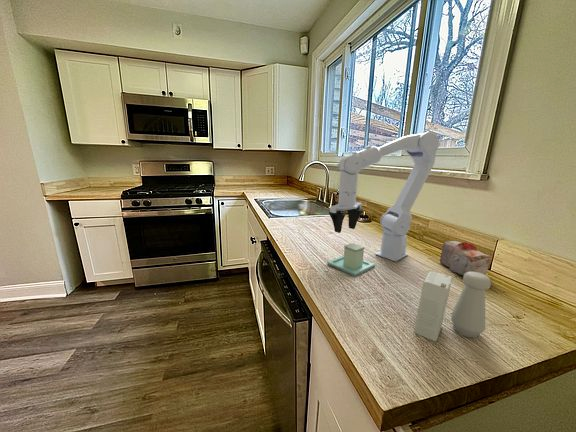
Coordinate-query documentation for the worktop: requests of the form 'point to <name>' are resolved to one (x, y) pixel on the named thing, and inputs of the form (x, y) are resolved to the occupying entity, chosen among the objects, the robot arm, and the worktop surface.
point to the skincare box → (432, 305)
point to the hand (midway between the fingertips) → (344, 230)
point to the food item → (464, 258)
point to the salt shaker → (471, 305)
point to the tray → (339, 265)
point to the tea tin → (353, 256)
